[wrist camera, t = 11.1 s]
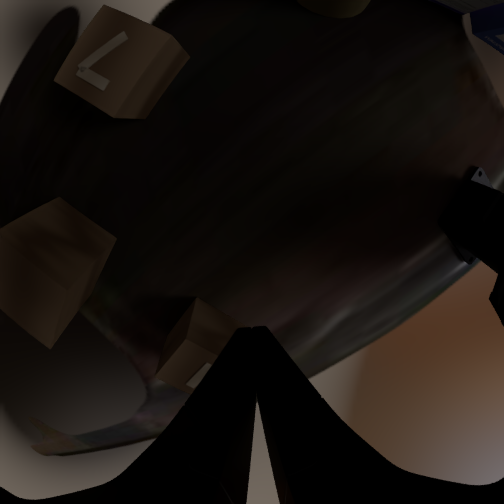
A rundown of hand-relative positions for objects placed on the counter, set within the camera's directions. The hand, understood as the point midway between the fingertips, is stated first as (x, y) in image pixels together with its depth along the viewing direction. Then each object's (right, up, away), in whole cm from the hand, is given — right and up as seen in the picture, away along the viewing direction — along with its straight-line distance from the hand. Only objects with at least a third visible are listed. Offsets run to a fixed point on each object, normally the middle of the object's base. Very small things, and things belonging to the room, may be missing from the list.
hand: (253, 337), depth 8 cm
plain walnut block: (-14, +3, +12) cm, 19 cm away
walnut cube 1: (-4, -4, +15) cm, 16 cm away
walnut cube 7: (-7, +14, +7) cm, 17 cm away
